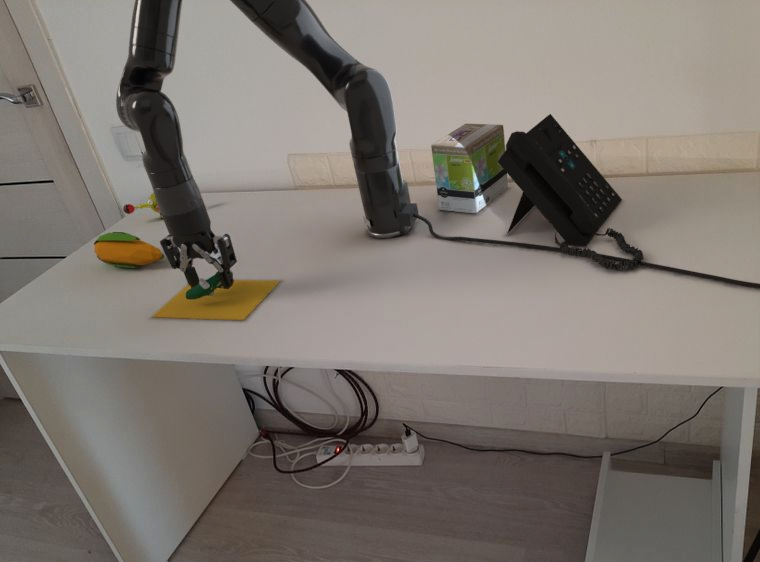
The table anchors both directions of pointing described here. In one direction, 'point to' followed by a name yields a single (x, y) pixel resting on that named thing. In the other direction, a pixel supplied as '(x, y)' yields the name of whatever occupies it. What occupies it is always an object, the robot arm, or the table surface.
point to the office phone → (563, 189)
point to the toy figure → (144, 206)
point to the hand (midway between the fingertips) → (212, 286)
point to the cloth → (219, 302)
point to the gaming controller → (205, 287)
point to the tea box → (469, 167)
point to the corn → (125, 250)
